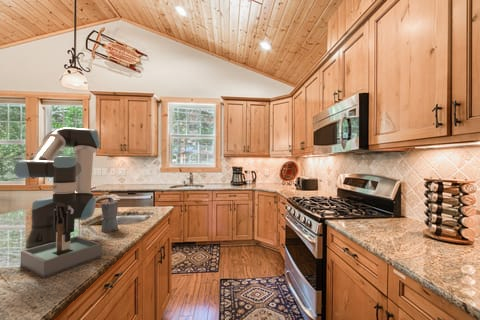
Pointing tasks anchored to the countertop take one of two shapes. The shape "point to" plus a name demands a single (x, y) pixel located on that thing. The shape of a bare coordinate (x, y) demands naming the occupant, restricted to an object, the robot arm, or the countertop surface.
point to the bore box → (59, 257)
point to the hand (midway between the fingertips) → (63, 247)
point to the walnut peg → (60, 240)
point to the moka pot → (109, 215)
